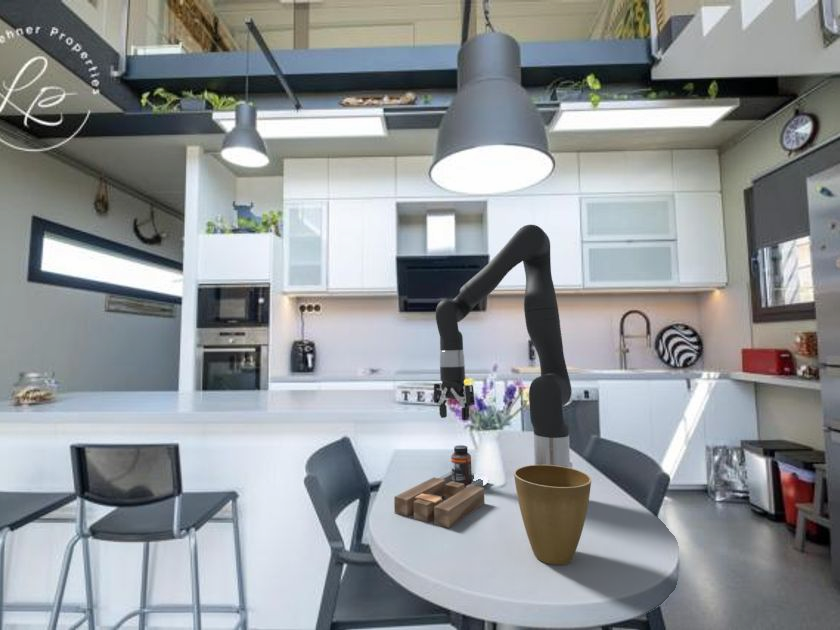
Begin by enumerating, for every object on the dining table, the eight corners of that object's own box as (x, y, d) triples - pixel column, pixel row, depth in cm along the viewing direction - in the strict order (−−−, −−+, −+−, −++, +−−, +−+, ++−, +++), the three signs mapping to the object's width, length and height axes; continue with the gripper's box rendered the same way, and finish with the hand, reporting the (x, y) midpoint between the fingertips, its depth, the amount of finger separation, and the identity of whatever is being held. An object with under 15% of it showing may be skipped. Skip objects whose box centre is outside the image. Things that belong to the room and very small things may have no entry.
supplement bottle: (470, 481, 131) (469, 444, 132) (473, 488, 125) (472, 449, 126) (450, 482, 131) (450, 444, 132) (452, 489, 125) (452, 449, 126)
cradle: (489, 483, 130) (489, 476, 130) (469, 495, 120) (469, 488, 120) (454, 476, 136) (454, 469, 137) (433, 487, 127) (433, 480, 127)
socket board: (484, 503, 114) (484, 486, 114) (448, 528, 99) (448, 509, 99) (433, 491, 123) (433, 476, 123) (394, 512, 108) (394, 495, 109)
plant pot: (580, 585, 76) (577, 492, 77) (503, 560, 85) (501, 477, 86) (603, 551, 88) (600, 471, 88) (533, 532, 97) (531, 459, 97)
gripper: (478, 364, 130) (480, 419, 129) (443, 364, 140) (444, 414, 139) (462, 366, 124) (464, 423, 123) (427, 365, 134) (428, 418, 133)
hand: (454, 418), depth 131 cm, fingers open, 8 cm apart
